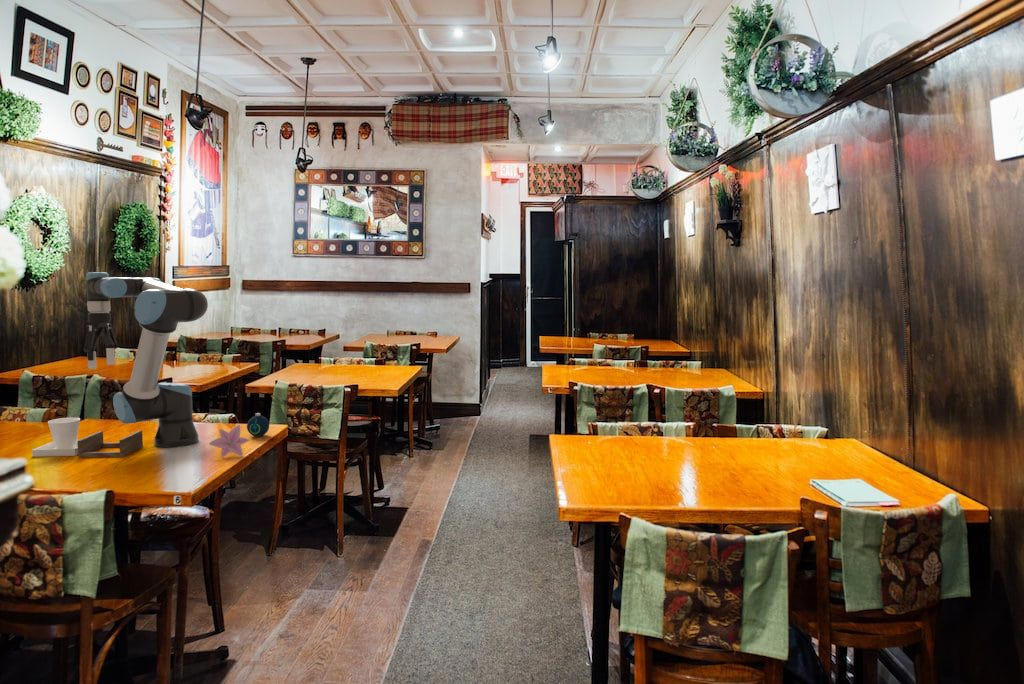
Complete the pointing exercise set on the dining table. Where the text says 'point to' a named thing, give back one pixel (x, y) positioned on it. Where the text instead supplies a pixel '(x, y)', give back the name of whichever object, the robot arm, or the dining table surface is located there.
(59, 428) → the cup
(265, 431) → the christmas ornament
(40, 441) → the dining table surface
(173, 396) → the robot arm
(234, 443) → the lily
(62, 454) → the tray
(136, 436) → the cup holder
